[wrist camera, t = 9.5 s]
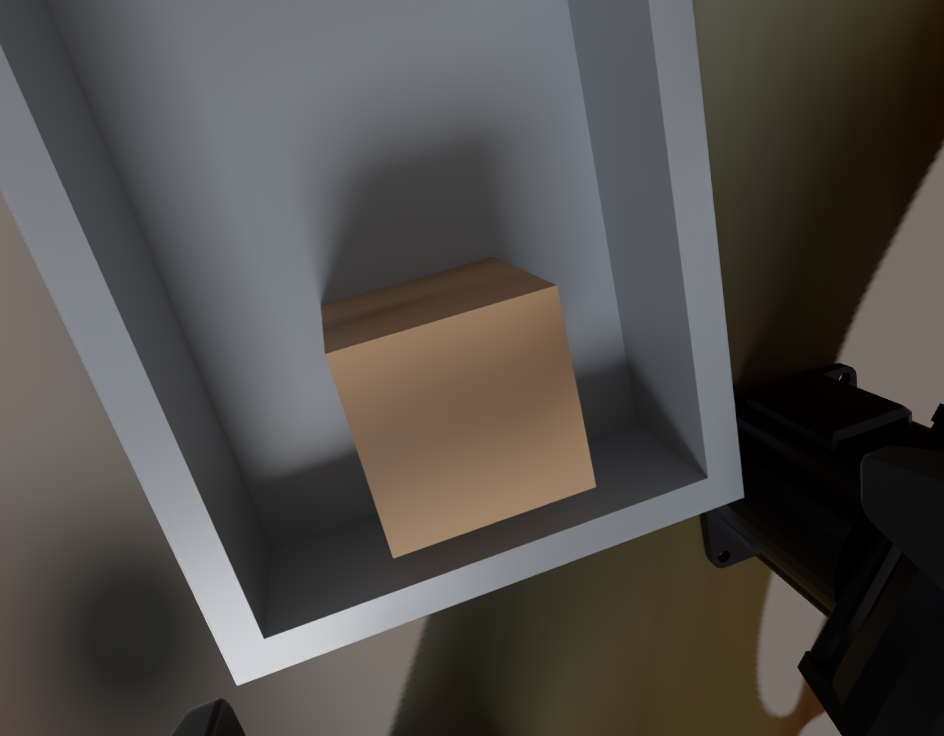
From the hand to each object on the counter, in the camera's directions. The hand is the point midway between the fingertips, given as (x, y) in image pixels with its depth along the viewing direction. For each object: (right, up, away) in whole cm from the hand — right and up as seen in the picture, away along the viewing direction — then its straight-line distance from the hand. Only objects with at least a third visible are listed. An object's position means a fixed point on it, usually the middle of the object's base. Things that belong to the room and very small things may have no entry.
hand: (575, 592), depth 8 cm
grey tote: (-4, +9, +9) cm, 13 cm away
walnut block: (-3, +3, +10) cm, 11 cm away
